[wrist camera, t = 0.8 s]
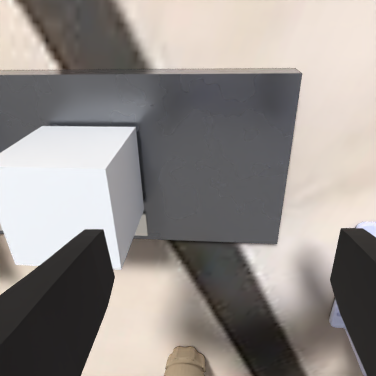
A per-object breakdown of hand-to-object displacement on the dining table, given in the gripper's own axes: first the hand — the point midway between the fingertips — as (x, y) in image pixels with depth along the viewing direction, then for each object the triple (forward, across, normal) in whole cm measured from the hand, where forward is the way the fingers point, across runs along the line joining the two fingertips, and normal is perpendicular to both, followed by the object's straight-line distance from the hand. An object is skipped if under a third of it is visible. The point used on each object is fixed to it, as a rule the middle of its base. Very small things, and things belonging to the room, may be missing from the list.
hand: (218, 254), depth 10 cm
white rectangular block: (+8, +7, +2) cm, 10 cm away
